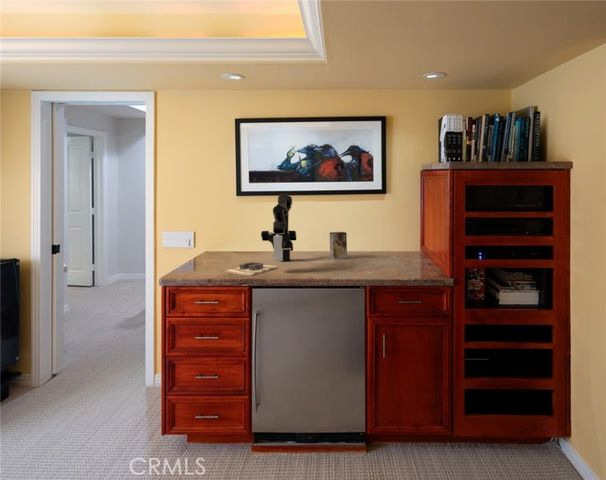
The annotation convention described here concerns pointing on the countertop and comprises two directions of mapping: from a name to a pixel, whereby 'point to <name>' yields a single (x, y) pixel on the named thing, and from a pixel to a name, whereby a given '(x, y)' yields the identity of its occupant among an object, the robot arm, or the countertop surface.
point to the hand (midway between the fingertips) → (277, 248)
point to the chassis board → (251, 269)
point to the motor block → (278, 248)
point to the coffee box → (338, 245)
